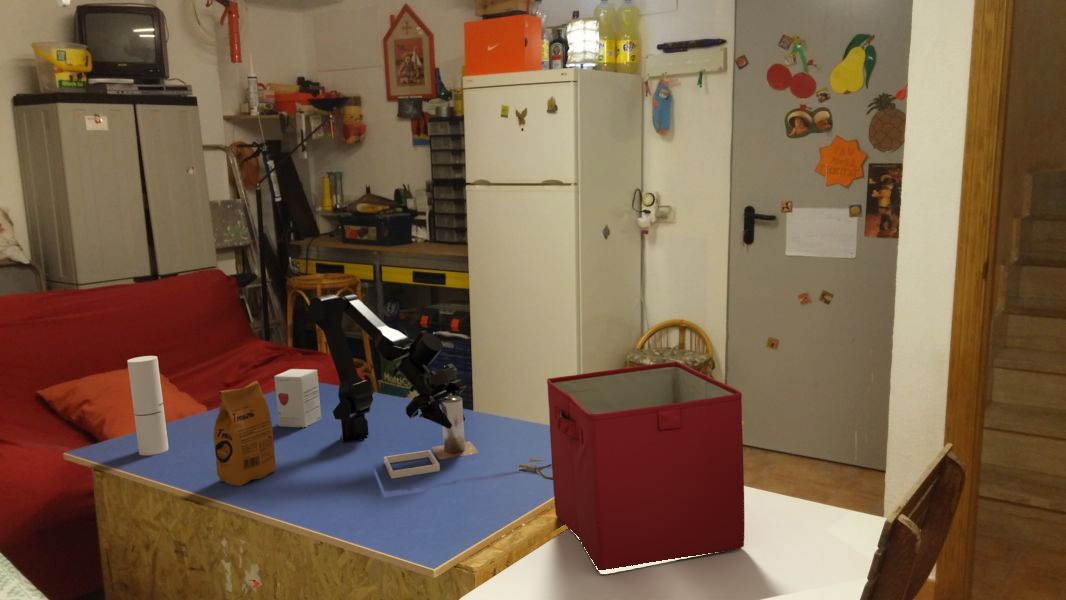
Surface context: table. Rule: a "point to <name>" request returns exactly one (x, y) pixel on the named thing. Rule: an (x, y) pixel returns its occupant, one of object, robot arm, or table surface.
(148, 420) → the cylindrical container
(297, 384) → the supplement box
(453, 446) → the shiny metal canister
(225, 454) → the coffee package
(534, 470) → the extension cord
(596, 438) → the storage cube
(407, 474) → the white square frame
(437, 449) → the walnut board
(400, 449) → the table surface
